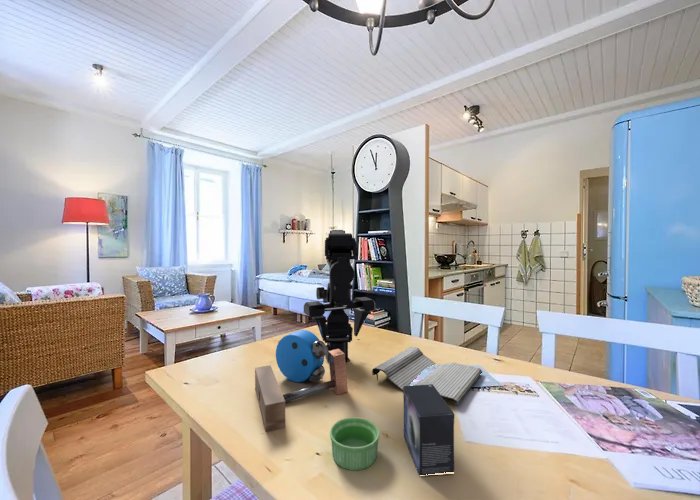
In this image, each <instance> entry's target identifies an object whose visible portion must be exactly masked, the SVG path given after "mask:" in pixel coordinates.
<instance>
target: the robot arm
mask: <svg viewBox="0 0 700 500" xmlns="http://www.w3.org/2000/svg"><path fill="white" fill-rule="evenodd" d="M357 243H358V242H357V241H356V238H355V237H353V234H352V233H346V231H345V230H343V229H331V230H329V233H328V237H325V239H324V257H325V260H326V263H327V265H328V266H329V267H328V268H329V283H327V289H326V288H325V287H324V286H321V287H317V288H316V289H315V290H316V294H315V296H316V299H317V300H322V302H323V303H322V302H320V301H317V300H316V301H307V302H306V301H305V303H304V304H303V314H305V315H306V316H308V317H309V318H312V319H313V320H314V321H315V323H316V326H317V327H318V331H319V333H320V335H321V339H322V342H324V344H325V345H326V348H327V352H326V355H325V356H324V358H326V360H327V361H328V362H329V355H328V351H331V350H335V349H340V350H341V351H342V352H343V353H345V363H346V362H350V361H351V359H350V358H349V343H351V342H353V336H354V337H358V335H359V333H360V330H361V329H362V326H363V324H364V323H365V320H366V319H367V318H368V316H369V315H371V313H372V312H373V311H376V302H375V300H374V299H372V298H369V297H367V296H362V297H355V298H354V299H353V300H352V290H353V289H354V286H353V284H352V282H353V281H354V279H355V269H354V267H353V266H352V263H351V260H357V257H358V255H359V251H358V250H359V249H358V244H357ZM345 310H353V314H354V320H353V323H354V324H353V327H352V324H351V323H350V322H349V321H350V318H349V316H348V314H347V313H346V312H345ZM326 312H330V313H329V314H328V316H327V317H326V316H325V313H326Z"/></svg>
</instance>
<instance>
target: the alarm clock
mask: <svg viewBox="0 0 700 500" xmlns="http://www.w3.org/2000/svg"><path fill="white" fill-rule="evenodd" d="M326 345H327V344H326V343H325V341H323V340H320V339H319V337H318V336H317V335H316V334H315V333H313V332H312V331H311V330H307V329H300V330H299V329H298V330H296V331H294V332H291V333H289V334H286V335H284V336H283V337H282V338H280V340H279V341H278V343H277V345H276V350H275V359H276V364H277V367H278V369H279V371H280V373H282V375H283V376H284V377H285V378H286V379H288V380H289V381H290V382H293V383H302V382H305V381H307V380H308V379H309V381H310V382H312V383H317V382H318V383H319V382H320V381H321V380H323V379H324V376H325V373H326V369H325V367H324V366H323V365H324V363H325V356H326V352H327V348H326Z"/></svg>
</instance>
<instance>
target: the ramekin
mask: <svg viewBox="0 0 700 500" xmlns="http://www.w3.org/2000/svg"><path fill="white" fill-rule="evenodd" d="M329 436H330V442H331V453H332V454H331V455H332V458H333V461H334V462H335V463H336V464H337V465H338V466H340V467H341V468H342V469H346V470H350V471H359V470H360V471H361V470H364V469H367V468H369V467H370V465H371V466H372V465H373V464H374V463H375V461H376V460H377V459H376V458H377V457H378V456H377V455H378V447H379V446H378V445H379V440H380V429H379V427H378V426H377V425H376V424H375V423H374V422H373V421H371V420H369V419H366V418H364V417H354V416H353V417H346V418H342V419H340V420H338V421H336V422H335V423H334V424H333V425H332V426H331V427H330V431H329Z"/></svg>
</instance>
